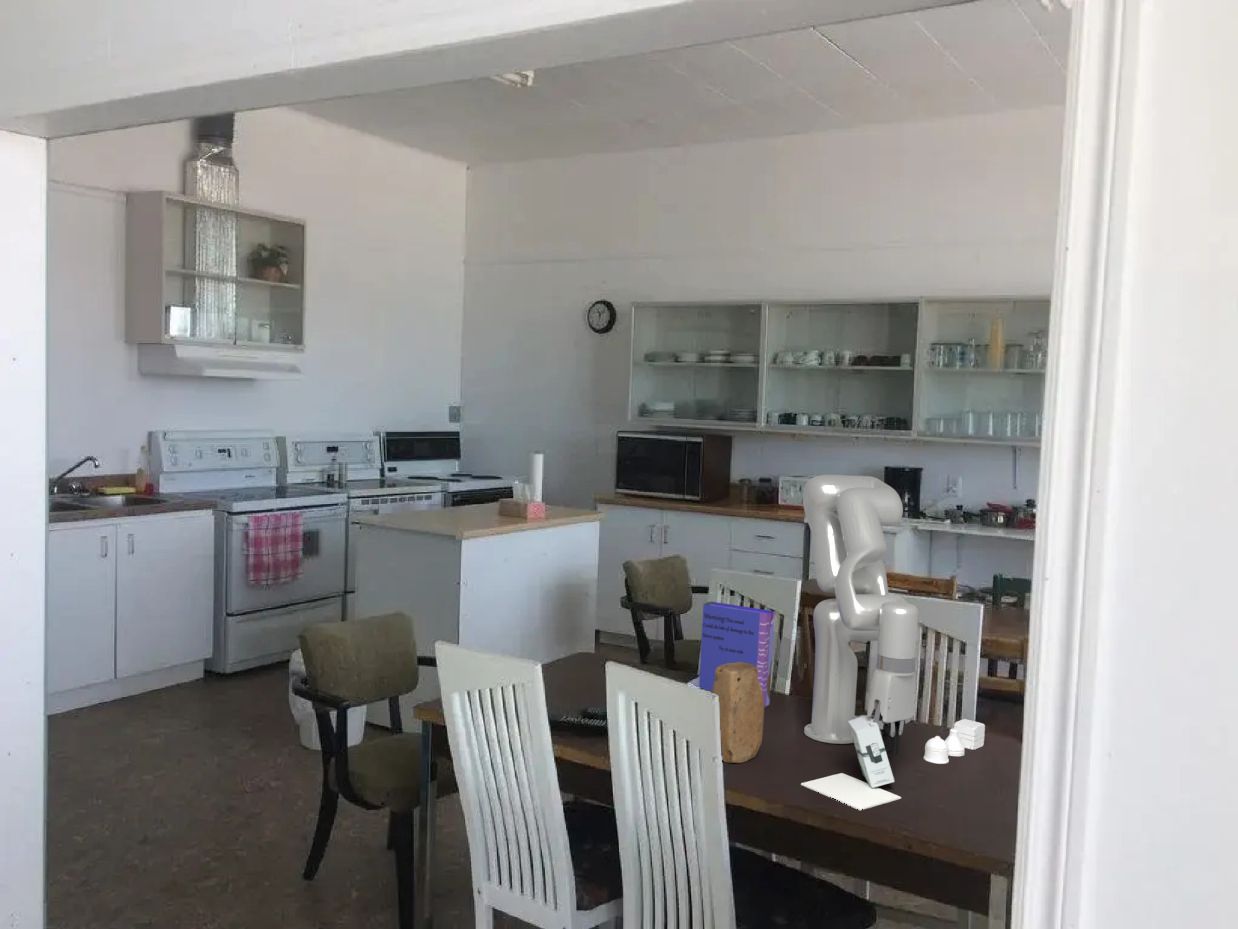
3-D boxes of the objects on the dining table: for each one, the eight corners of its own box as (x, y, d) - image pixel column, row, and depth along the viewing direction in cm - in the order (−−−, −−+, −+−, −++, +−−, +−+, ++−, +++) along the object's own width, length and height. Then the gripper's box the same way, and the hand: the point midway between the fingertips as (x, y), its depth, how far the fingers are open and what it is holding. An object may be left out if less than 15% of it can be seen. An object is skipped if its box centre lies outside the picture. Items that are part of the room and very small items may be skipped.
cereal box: (769, 705, 263) (774, 610, 262) (761, 709, 259) (767, 613, 258) (706, 692, 272) (711, 600, 271) (698, 696, 268) (703, 603, 267)
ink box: (862, 775, 215) (846, 719, 215) (885, 769, 215) (869, 713, 215) (871, 789, 206) (855, 731, 206) (895, 782, 206) (879, 724, 206)
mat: (841, 774, 215) (841, 773, 215) (901, 798, 203) (901, 797, 203) (800, 784, 208) (801, 783, 208) (859, 810, 196) (859, 809, 196)
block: (727, 767, 216) (732, 671, 215) (704, 756, 223) (709, 663, 221) (766, 758, 223) (771, 665, 222) (742, 748, 229) (747, 657, 228)
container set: (962, 741, 242) (964, 718, 241) (984, 747, 238) (985, 724, 238) (919, 760, 227) (920, 735, 227) (941, 766, 224) (943, 741, 223)
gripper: (903, 655, 218) (898, 742, 220) (856, 664, 209) (851, 754, 210) (934, 664, 212) (928, 753, 214) (887, 673, 203) (881, 765, 204)
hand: (890, 753), depth 212 cm, fingers closed
